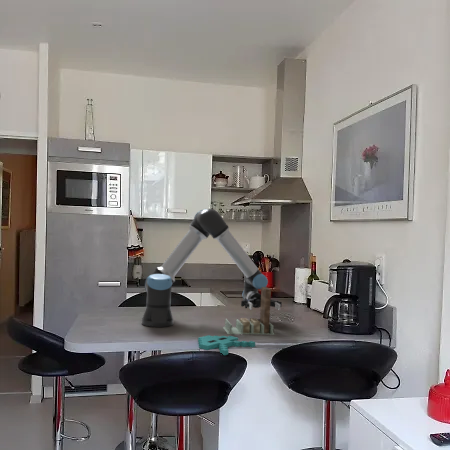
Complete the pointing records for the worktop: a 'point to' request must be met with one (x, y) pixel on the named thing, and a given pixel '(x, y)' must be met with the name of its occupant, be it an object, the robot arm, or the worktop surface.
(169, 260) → the robot arm
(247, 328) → the pine offcut
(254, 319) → the pine offcut
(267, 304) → the walnut panel
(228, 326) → the slot rack
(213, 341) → the alien figure
